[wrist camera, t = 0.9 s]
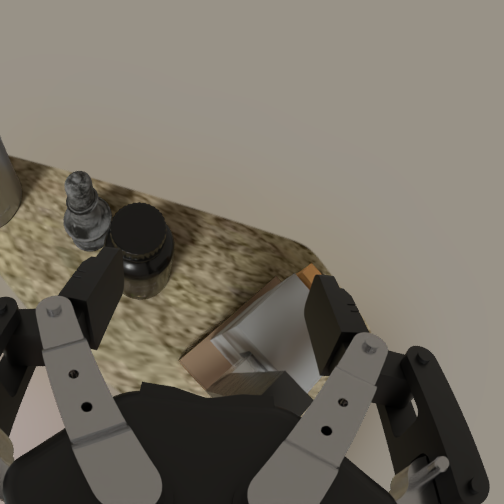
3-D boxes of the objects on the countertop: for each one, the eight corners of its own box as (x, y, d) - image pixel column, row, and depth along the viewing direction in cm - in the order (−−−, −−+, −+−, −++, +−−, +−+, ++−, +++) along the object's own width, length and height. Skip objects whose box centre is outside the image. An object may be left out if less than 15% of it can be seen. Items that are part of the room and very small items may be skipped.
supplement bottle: (114, 244, 34) (104, 188, 23) (169, 247, 36) (181, 193, 26) (110, 300, 31) (93, 264, 21) (168, 302, 34) (179, 268, 23)
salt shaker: (107, 204, 35) (99, 141, 25) (119, 244, 34) (112, 189, 24) (65, 218, 33) (43, 158, 22) (75, 260, 31) (49, 209, 21)
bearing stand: (178, 360, 31) (193, 354, 21) (271, 279, 39) (319, 241, 28) (232, 418, 31) (274, 436, 20) (316, 331, 38) (377, 310, 28)
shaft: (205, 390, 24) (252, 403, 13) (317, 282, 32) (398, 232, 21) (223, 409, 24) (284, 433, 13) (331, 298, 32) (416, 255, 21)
